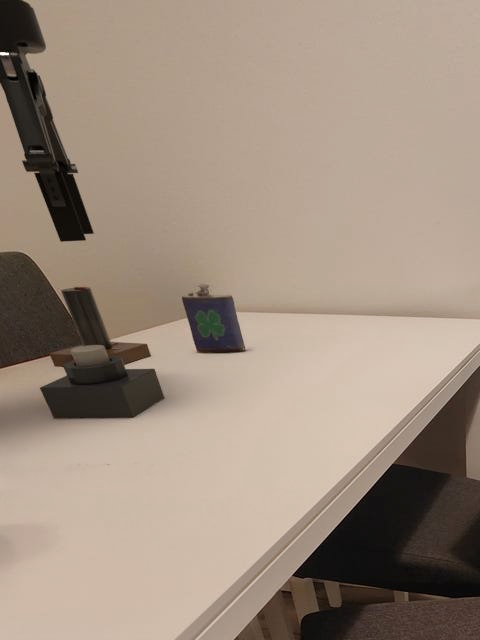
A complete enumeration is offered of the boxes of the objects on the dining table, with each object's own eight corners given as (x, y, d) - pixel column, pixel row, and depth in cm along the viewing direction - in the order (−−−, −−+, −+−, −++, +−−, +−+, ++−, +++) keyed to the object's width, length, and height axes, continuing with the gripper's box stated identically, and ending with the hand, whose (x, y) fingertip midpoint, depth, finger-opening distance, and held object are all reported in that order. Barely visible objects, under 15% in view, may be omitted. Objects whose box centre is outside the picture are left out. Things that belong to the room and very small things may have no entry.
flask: (247, 349, 109) (231, 282, 102) (241, 352, 106) (223, 284, 100) (200, 349, 110) (180, 283, 103) (193, 353, 107) (172, 285, 101)
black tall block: (79, 350, 102) (53, 288, 96) (98, 344, 105) (75, 284, 99) (98, 351, 101) (74, 289, 95) (118, 345, 104) (95, 285, 98)
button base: (53, 419, 78) (31, 371, 75) (91, 399, 85) (73, 354, 82) (133, 418, 78) (114, 369, 74) (164, 398, 85) (149, 353, 81)
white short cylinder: (70, 369, 77) (63, 352, 75) (88, 361, 80) (81, 345, 78) (100, 368, 76) (93, 351, 75) (116, 361, 80) (110, 344, 78)
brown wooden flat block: (54, 365, 102) (48, 352, 101) (99, 352, 109) (94, 339, 108) (108, 369, 99) (103, 355, 98) (151, 355, 106) (146, 342, 105)
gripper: (11, -30, 55) (105, 242, 68) (45, 23, 73) (114, 230, 86) (-86, -37, 53) (31, 246, 66) (-26, 19, 71) (56, 233, 84)
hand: (78, 237), depth 76 cm, fingers open, 13 cm apart
